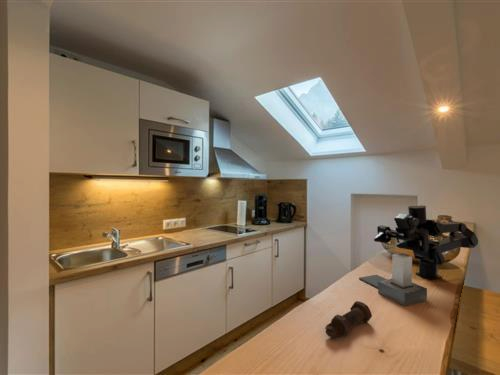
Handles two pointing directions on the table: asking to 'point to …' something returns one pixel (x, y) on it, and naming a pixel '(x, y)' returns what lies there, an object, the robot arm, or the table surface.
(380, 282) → the socket block
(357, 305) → the bolt
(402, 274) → the steel peg
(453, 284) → the table surface
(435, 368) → the table surface
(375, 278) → the rubber mat
